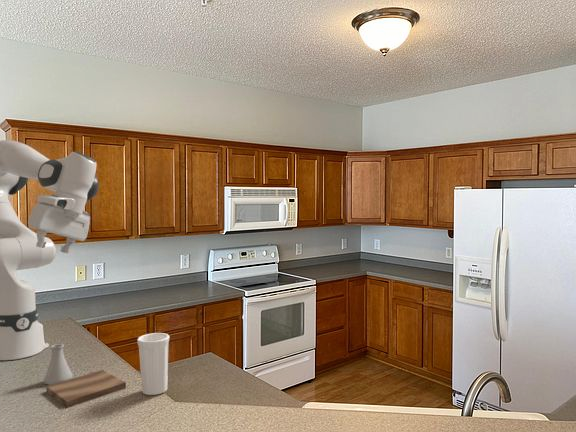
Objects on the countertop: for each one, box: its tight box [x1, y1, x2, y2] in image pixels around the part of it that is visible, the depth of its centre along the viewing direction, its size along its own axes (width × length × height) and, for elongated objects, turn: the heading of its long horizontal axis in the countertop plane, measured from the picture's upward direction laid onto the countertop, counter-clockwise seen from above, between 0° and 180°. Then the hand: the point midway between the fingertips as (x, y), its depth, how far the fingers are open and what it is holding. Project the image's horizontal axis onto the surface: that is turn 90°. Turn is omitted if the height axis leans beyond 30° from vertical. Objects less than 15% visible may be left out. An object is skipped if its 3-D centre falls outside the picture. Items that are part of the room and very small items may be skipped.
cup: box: [136, 332, 170, 396], centre depth 116 cm, size 8×8×14 cm
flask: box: [42, 343, 74, 386], centre depth 124 cm, size 7×7×10 cm
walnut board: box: [46, 369, 127, 408], centre depth 118 cm, size 14×15×2 cm
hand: (52, 250), depth 129 cm, fingers open, 8 cm apart
